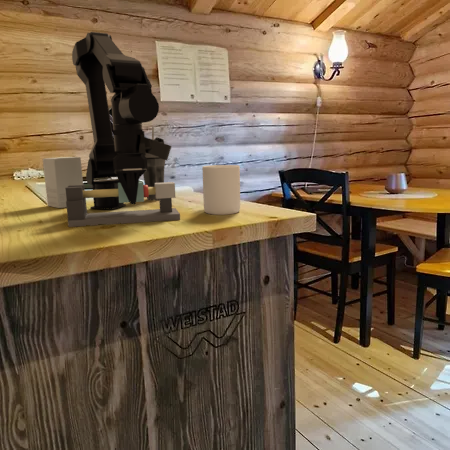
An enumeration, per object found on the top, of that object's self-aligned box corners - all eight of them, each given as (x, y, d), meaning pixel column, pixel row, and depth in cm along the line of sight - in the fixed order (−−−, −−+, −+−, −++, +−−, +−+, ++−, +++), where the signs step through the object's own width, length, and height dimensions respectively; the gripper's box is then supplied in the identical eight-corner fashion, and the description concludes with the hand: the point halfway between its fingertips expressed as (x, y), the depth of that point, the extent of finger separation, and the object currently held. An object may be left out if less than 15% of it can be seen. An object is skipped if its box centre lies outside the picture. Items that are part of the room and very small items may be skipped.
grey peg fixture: (68, 226, 82) (64, 188, 81) (73, 219, 90) (69, 184, 88) (180, 219, 87) (178, 183, 86) (175, 213, 95) (174, 180, 93)
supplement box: (86, 205, 111) (81, 156, 109) (58, 208, 106) (53, 158, 104) (73, 202, 116) (69, 156, 114) (46, 206, 111) (41, 157, 109)
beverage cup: (137, 200, 117) (132, 127, 113) (149, 197, 123) (145, 127, 119) (161, 201, 114) (157, 126, 110) (172, 197, 121) (168, 126, 117)
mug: (191, 209, 100) (189, 165, 98) (222, 205, 104) (221, 163, 102) (213, 216, 90) (212, 167, 88) (247, 212, 94) (246, 165, 92)
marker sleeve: (119, 202, 86) (117, 184, 85) (119, 200, 89) (118, 182, 89) (144, 201, 87) (142, 183, 86) (143, 199, 90) (142, 181, 90)
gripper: (172, 122, 78) (176, 205, 81) (163, 126, 96) (167, 194, 99) (110, 123, 75) (116, 209, 78) (113, 126, 93) (118, 196, 96)
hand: (132, 201), depth 88 cm, fingers open, 8 cm apart
